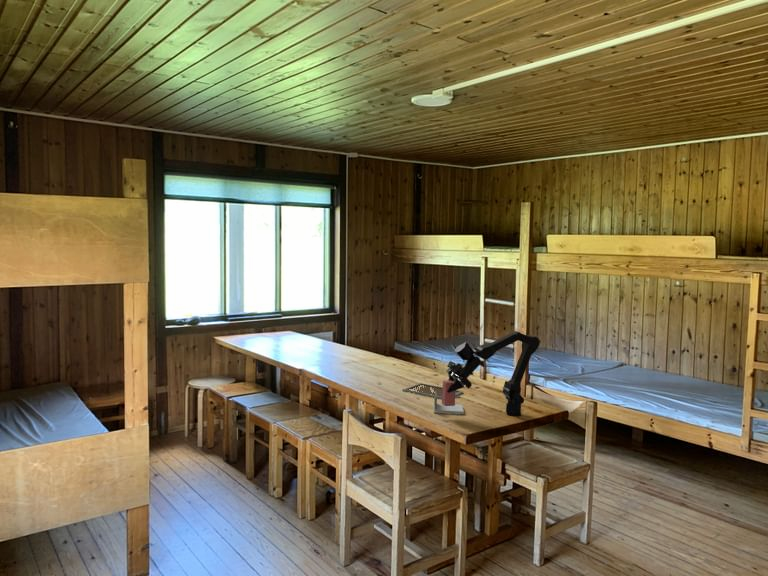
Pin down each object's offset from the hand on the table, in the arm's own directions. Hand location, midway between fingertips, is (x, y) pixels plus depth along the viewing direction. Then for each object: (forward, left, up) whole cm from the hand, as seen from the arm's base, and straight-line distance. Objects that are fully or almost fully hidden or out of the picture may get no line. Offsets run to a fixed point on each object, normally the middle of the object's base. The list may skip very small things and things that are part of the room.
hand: (446, 391), depth 265 cm
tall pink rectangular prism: (-1, -1, -7) cm, 7 cm away
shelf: (-1, -12, -12) cm, 17 cm away
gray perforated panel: (+8, -42, -13) cm, 45 cm away
